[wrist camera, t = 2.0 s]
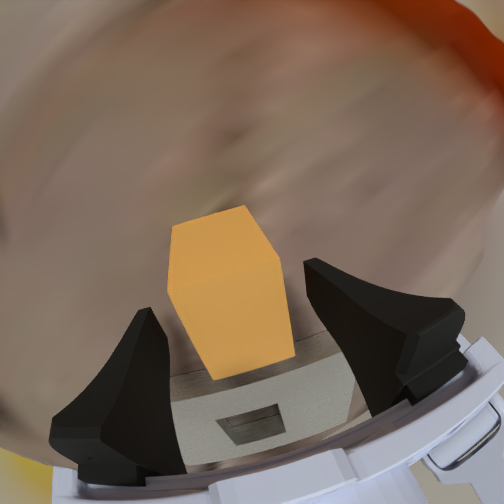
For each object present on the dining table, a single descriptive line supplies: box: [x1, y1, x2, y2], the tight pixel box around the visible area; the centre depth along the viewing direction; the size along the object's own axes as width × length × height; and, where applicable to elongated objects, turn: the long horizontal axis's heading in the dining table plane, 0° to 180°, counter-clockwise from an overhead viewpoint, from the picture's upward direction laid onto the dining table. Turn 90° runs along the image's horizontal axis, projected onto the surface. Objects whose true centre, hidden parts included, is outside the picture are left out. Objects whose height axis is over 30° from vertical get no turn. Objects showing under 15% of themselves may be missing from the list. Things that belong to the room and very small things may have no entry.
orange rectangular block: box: [167, 205, 295, 380], centre depth 13 cm, size 4×6×6 cm
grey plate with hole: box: [170, 330, 355, 466], centre depth 23 cm, size 20×16×2 cm
